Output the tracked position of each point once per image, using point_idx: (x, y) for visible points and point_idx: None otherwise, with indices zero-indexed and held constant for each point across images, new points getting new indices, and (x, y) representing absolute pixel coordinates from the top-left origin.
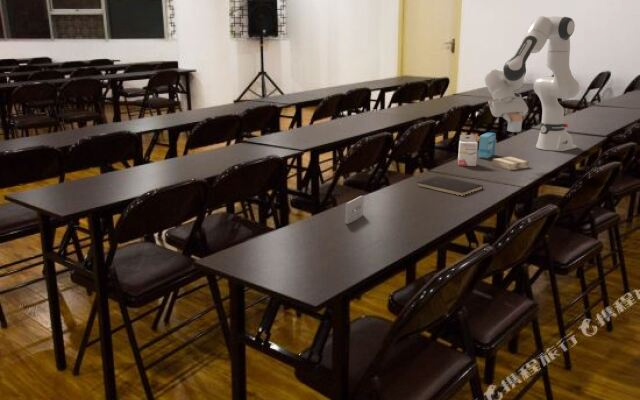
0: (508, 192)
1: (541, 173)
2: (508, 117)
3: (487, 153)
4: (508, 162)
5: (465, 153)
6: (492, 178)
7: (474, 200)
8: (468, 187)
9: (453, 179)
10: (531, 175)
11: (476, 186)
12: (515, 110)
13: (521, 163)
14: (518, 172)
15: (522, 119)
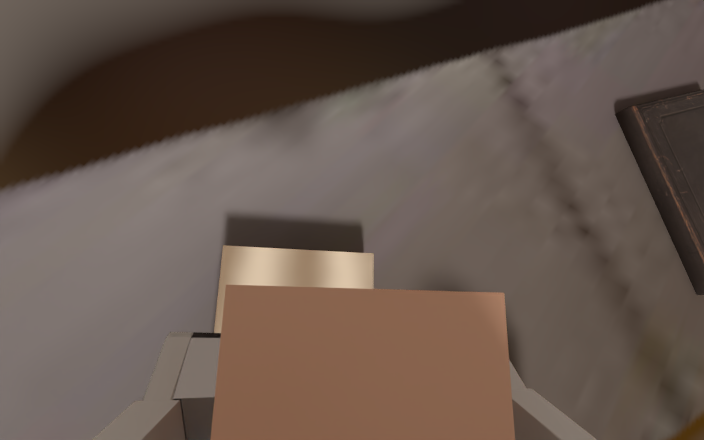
0: (566, 40)
1: (270, 130)
2: (543, 402)
3: None
4: (352, 286)
5: None
6: (518, 189)
7: (684, 50)
8: (681, 112)
9: (688, 214)
10: (341, 133)
11: (655, 105)
12: None
13: (283, 249)
14: (354, 202)
15: (175, 339)
